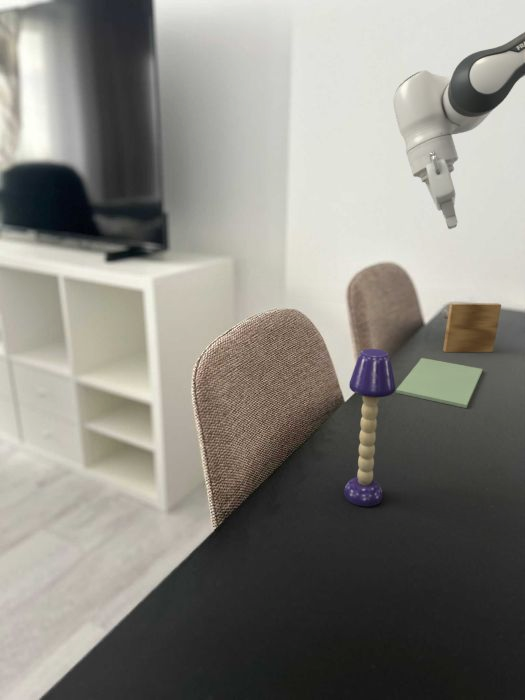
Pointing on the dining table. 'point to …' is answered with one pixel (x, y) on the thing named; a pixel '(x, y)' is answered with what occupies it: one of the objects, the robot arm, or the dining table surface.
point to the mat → (441, 382)
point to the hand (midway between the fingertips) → (453, 226)
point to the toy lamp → (369, 421)
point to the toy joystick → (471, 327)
